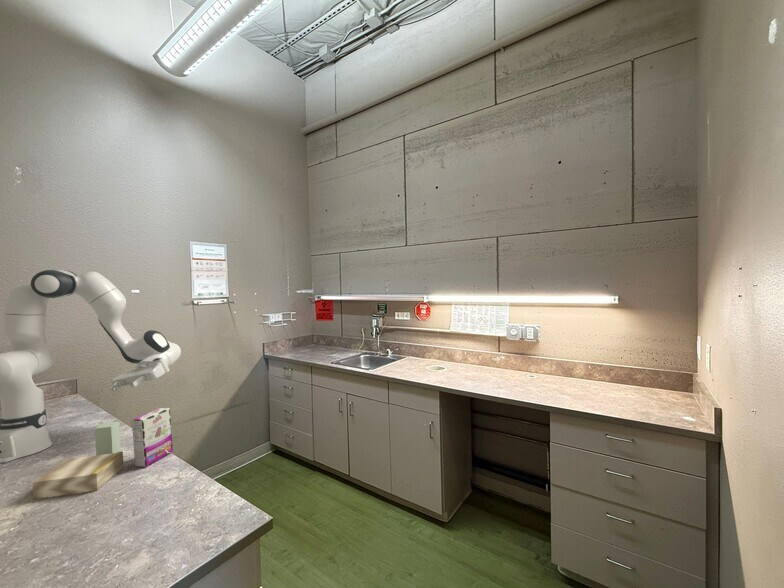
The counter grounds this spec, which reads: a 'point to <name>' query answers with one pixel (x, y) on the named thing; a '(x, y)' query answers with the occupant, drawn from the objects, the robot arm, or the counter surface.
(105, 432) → the pale green block
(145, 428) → the candy bar box
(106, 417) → the counter surface
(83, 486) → the dock
